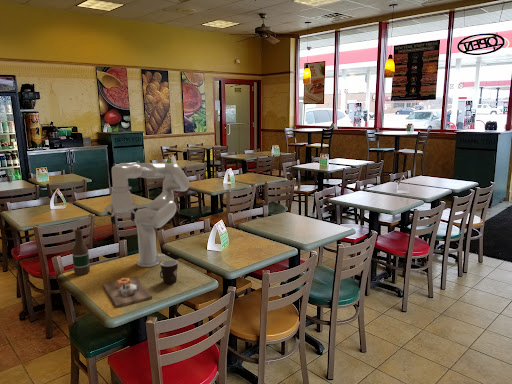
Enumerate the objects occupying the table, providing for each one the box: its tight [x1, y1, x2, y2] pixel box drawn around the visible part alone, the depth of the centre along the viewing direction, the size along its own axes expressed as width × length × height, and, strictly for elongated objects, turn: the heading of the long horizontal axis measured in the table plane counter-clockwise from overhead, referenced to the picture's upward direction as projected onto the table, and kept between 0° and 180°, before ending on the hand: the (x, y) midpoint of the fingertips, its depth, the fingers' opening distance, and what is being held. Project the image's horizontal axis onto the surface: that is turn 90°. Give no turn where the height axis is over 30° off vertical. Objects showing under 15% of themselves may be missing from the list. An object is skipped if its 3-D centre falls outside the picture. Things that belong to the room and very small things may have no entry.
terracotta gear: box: [116, 277, 131, 289], centre depth 191 cm, size 6×6×3 cm
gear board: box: [103, 276, 153, 308], centre depth 187 cm, size 16×26×6 cm, turn 32°
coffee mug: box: [159, 259, 179, 285], centre depth 197 cm, size 12×9×10 cm
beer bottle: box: [72, 228, 91, 276], centre depth 208 cm, size 8×8×24 cm
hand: (123, 222), depth 204 cm, fingers open, 9 cm apart
